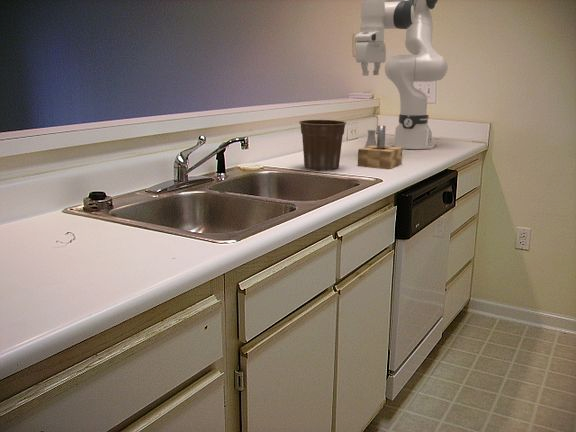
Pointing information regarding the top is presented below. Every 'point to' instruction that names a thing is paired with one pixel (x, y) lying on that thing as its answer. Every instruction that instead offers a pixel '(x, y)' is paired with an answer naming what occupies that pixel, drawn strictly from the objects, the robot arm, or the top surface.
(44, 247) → the top surface
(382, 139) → the rod
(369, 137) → the flask
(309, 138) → the plant pot
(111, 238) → the top surface
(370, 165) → the bead block
